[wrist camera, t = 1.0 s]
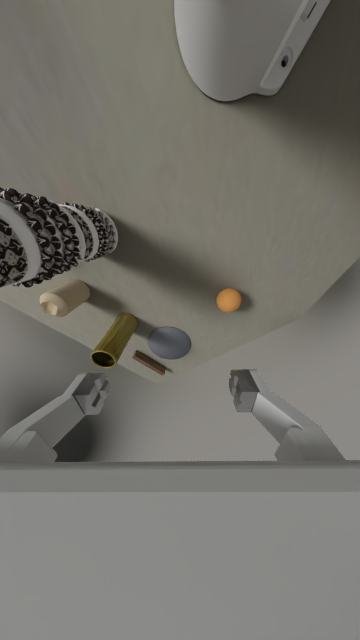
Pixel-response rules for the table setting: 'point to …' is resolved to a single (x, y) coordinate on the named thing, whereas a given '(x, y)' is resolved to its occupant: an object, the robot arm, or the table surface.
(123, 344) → the vase
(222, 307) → the ball
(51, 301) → the candle
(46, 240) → the decorative candle
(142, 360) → the stopper strip
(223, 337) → the table surface
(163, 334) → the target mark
